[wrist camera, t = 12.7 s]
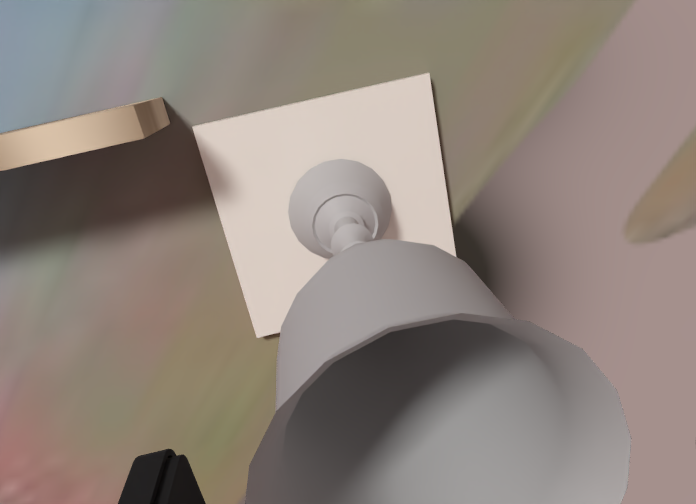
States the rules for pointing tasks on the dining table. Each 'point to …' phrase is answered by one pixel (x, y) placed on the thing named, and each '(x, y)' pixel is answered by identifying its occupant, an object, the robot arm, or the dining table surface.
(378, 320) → the chalice
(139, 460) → the robot arm
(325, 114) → the mat
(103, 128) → the cubby
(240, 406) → the dining table surface
